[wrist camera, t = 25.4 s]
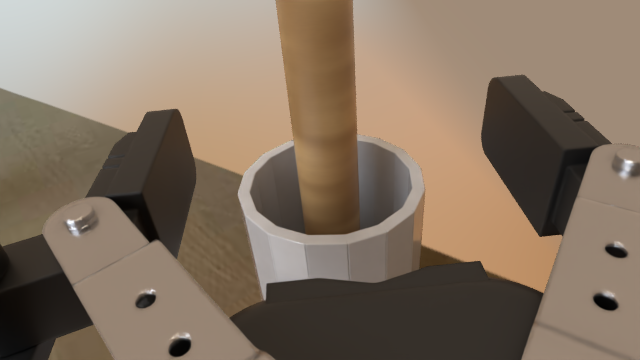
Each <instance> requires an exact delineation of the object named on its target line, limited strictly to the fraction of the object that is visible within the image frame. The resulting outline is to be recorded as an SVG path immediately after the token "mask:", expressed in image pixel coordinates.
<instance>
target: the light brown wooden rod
mask: <svg viewBox="0 0 640 360" xmlns="http://www.w3.org/2000/svg"><path fill="white" fill-rule="evenodd" d="M276 7H277V15H278V23H279V31H280V38H281V46H282V54H283V61H284V70H285V77H286V85H287V92H288V101H289V108H290V116H291V124H292V132H293V140H294V148H295V155H296V163H297V171H298V179H299V187H300V194H301V202H302V210H303V218H304V225H305V233H306V235H344V234H349V233H352V232H355V231H359V230H360V206H359V176H358V146H357V116H356V86H355V58H354V26H353V0H276Z"/></svg>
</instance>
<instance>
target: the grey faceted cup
mask: <svg viewBox="0 0 640 360" xmlns="http://www.w3.org/2000/svg"><path fill="white" fill-rule="evenodd" d="M357 146H358V176H359V206H360V230H359V231H355V232H352V233H349V234H344V235H306V233H305V225H304V218H303V210H302V202H301V194H300V187H299V179H298V171H297V163H296V155H295V148H294V140H291V141H289V142H286V143H284V144H282V145H280V146H278V147H276V148H274V149H272V150H270V151H268V152H266V153H264V154H263V155H262V156H260V157H259V158H258V159H257V160H256V162H254V163H253V164H252V165H251V167H249V169H247V171H245V173H244V176H243V179H242V182H241V185H240V188H239V191H238V198H239V203H240V207H241V211H242V216H243V220H244V224H245V229H246V233H247V237H248V242H249V246H250V250H251V255H252V259H253V264H254V268H255V272H256V277H257V281H258V285H259V290H260V294H261V298H262V301H264V300H266V283H274V282H284V281H294V280H303V279H313V278H326V279H337V280H347V281H357V282H368V283H377V282H382V281H385V280H388V279H391V278H394V277H397V276H400V275H403V274H406V273H409V272H412V271H415V270H418V269H419V267H420V253H421V240H422V226H423V212H424V199H425V185H424V180H423V175H422V171H421V168H420V166H419V165H418V164H417V163H416V162H415V161H414V160H413V159H412V158H411V157H410V156H409V155H408V154H407V152H406V151H404V150H403V149H401V148H399V147H397V146H395V145H393V144H391V143H388V142H386V141H384V140H382V139H380V138H379V139H378V138H375V137H370V136H364V135H358V134H357Z"/></svg>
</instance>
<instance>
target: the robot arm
mask: <svg viewBox="0 0 640 360" xmlns="http://www.w3.org/2000/svg"><path fill="white" fill-rule="evenodd" d="M481 138H482V139H481V140H482V147H483V150H484V153H485V155H486V156H487V158H488V159H489V161H490V162H491V164H492V165H493V167H494V168H495V170H496V171H497V173H498V174H499V176H500V178H501V179H502V180H503V182H504V184H505V185H506V186H507V188H508V189H509V191H510V193H511V194H512V196H513V197H514V199H515V200H516V202H517V203H518V205H519V206H520V208H521V209H522V211H523V212H524V214H525V215H526V217H527V218H528V220H529V221H530V223H531V224H532V226H533V227H534V229H535V230H536V232H537V233H538V235H539V236H540V237H542V236H551V235H562V236H563V238H562V241H561V244H560V247H559V250H558V253H557V256H556V259H555V262H554V265H553V268H552V271H551V274H550V277H549V280H548V283H547V286H546V289H545V292H544V294H543V293H541V292H539V291H537V290H535V289H533V288H530V287H527V286H525V285H522V284H519V283H516V282H512V281H509V280H504V279H499V278H493V277H488V276H487V274H486V272H485V270H484V268H483V266H482V264H481V262H480V261H474V262H465V263H455V264H446V265H436V266H428V267H424V268H421V269H418V270H415V271H412V272H409V273H406V274H403V275H400V276H397V277H394V278H391V279H388V280H385V281H382V282H377V283H368V282H357V281H347V280H337V279H326V278H313V279H303V280H294V281H284V282H274V283H266V300H264V301H262V302H259V303H256V304H254V305H252V306H249V307H247V308H245V309H243V310H242V311H240V312H238V313H236V314H235V315H233V316H232V317H230V318H228V316H227V315H226V314H225V313H224V312H223V311H222V310H221V309H220V307H219V306H218V305H217V304H216V303H215V302H214V301H213V300H212V299H211V297H210V296H209V295H208V294H207V293H206V292H205V291H204V290H203V289H202V287H201V286H200V285H199V284H198V283H197V282H196V281H195V280H194V278H193V277H192V276H191V275H190V274H189V273H188V272H187V271H186V270H185V268H184V267H183V266H182V265H181V264H180V263H179V262H178V261H177V256H178V252H179V248H180V244H181V240H182V236H183V232H184V228H185V224H186V220H187V216H188V212H189V208H190V204H191V200H192V196H193V192H194V188H195V184H196V167H195V162H194V158H193V155H192V151H191V147H190V144H189V140H188V137H187V133H186V130H185V126H184V123H183V119H182V116H181V114H180V112H179V110H178V109H170V110H161V111H151V112H147V113H146V114H145V116H144V118H143V120H142V122H141V124H140V126H139V128H138V130H137V132H131V133H128V134H127V135H125V136H124V137H123V138H122V139H121V140H119V141H118V142H117V143H116V144H115V145H114V147H113V148H112V150H111V152H110V154H109V156H108V159H106V161H105V163H104V165H103V166H102V167H103V169H101V170H100V172H99V174H98V176H97V177H96V179H95V181H94V183H93V185H92V186H91V188H90V190H89V192H88V194H87V195H86V197H85V198H84V199H80V200H77V201H74V202H71V203H69V204H67V205H65V206H63V207H62V208H60V209H58V210H57V211H56V212H54V213H53V214H52V215H51V216H50V217H49V218H48V219H47V221H46V222H45V224H44V226H43V229H42V233H43V234H41V235H38V236H35V237H32V238H29V239H26V240H22V241H19V242H16V243H13V244H9V245H6V246H3V247H2V246H1V244H0V360H48V358H49V355H50V353H51V350H52V347H53V345H54V342H55V339H56V338H58V337H61V336H64V335H66V334H69V333H72V332H75V331H77V330H80V329H83V328H85V327H88V326H91V325H95V327H96V329H97V330H98V332H99V334H100V336H101V337H102V339H103V341H104V343H105V344H106V346H107V348H108V350H109V351H110V353H111V355H112V356H113V358H114V360H640V147H638V146H634V145H628V144H612V143H611V142H610V141H609V140H607V139H606V138H605V137H604V136H603V135H602V134H601V133H600V132H599V131H597V130H596V129H595V128H594V127H593V126H592V125H591V124H590V123H589V122H587V121H584V118H583V117H582V116H581V115H579V114H578V113H577V112H575V110H574V109H573V108H572V107H571V106H570V105H568V104H567V103H566V102H565V101H564V100H563V99H561V98H558V97H556V96H554V95H552V94H550V93H547V92H545V91H544V92H542V91H541V90H540V89H539V88H538V87H537V86H536V85H535V84H534V83H533V82H531V81H530V80H529V79H528V78H527V77H526V76H525V75H515V76H506V77H496V78H492V80H491V81H490V83H489V87H488V92H487V99H486V105H485V112H484V119H483V126H482V133H481Z"/></svg>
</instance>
